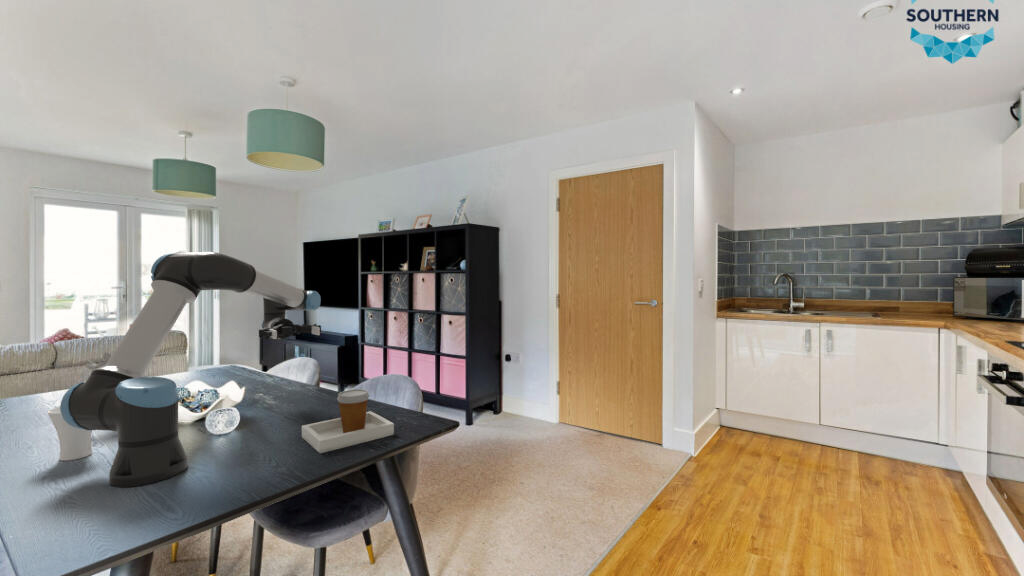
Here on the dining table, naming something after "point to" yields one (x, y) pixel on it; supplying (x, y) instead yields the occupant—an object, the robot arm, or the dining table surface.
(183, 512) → the dining table surface
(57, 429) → the cup
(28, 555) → the dining table surface
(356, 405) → the disposable coffee cup
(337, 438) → the tray
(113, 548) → the dining table surface
